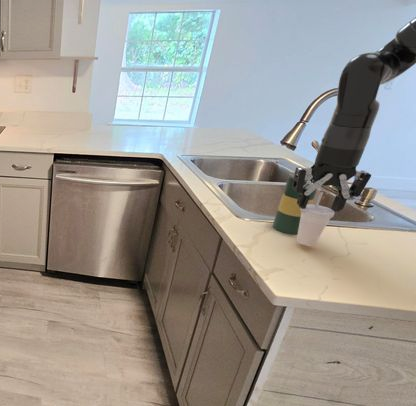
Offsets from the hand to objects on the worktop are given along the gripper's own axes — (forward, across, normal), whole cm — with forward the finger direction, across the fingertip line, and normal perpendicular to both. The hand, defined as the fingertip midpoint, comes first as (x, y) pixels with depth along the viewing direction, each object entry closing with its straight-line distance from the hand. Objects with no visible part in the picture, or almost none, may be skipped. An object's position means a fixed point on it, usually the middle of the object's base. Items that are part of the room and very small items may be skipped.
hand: (318, 208), depth 92 cm
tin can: (+11, 0, +11) cm, 15 cm away
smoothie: (+10, 0, 0) cm, 10 cm away
